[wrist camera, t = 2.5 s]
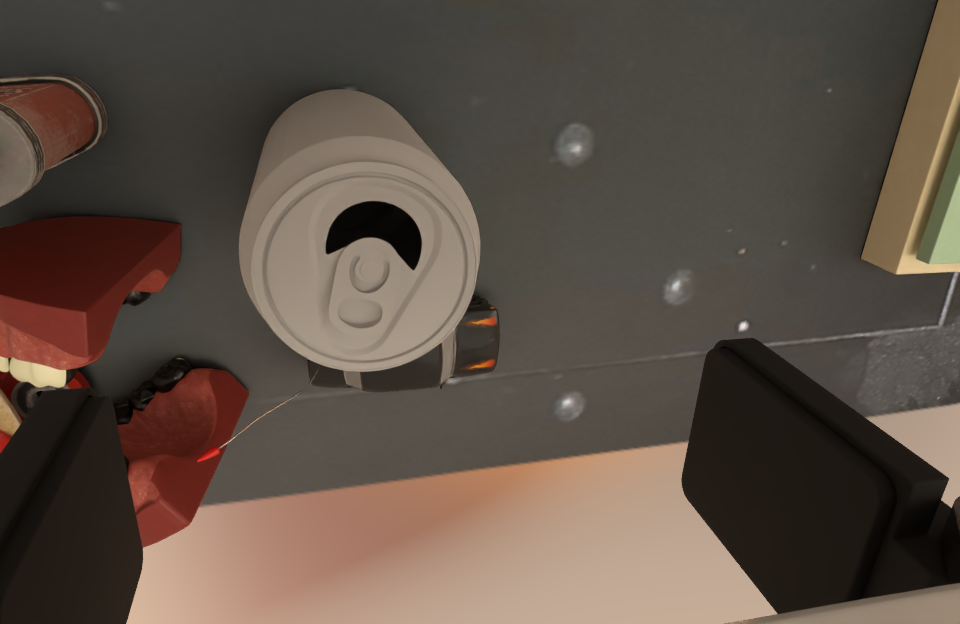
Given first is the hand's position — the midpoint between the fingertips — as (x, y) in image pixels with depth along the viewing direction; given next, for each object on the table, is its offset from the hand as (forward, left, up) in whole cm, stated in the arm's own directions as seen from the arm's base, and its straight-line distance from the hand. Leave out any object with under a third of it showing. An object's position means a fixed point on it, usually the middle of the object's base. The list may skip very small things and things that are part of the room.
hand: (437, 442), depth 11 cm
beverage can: (0, 0, -19) cm, 19 cm away
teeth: (+1, -11, -16) cm, 19 cm away
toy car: (+7, 0, -19) cm, 20 cm away
